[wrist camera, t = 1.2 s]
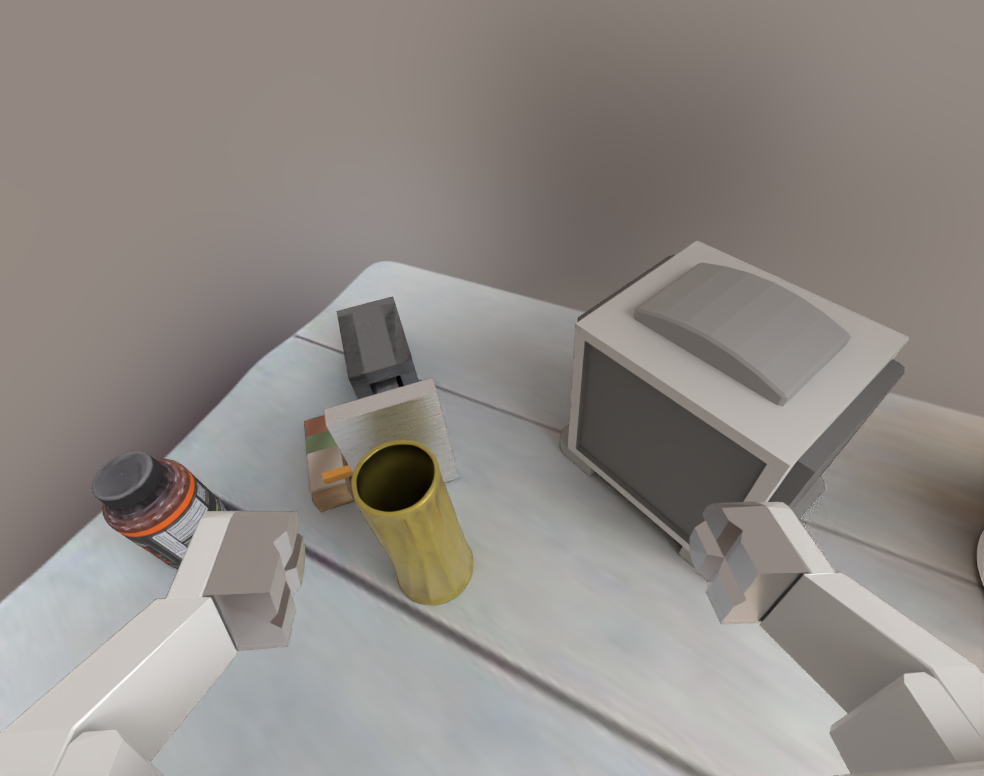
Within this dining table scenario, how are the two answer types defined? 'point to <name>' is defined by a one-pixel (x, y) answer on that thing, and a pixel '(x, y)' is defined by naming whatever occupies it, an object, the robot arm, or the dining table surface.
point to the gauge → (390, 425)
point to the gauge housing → (375, 346)
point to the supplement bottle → (153, 503)
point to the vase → (413, 520)
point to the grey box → (720, 388)
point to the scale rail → (325, 466)
